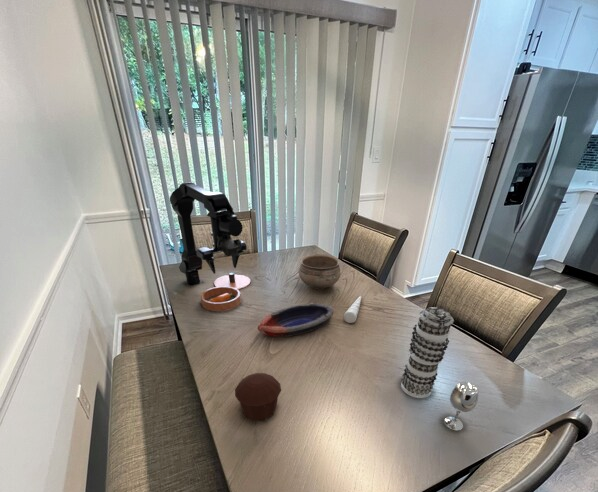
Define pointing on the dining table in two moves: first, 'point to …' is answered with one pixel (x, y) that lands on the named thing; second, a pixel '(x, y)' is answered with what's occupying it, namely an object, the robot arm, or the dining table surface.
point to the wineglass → (461, 403)
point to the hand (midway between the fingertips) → (224, 270)
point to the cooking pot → (319, 270)
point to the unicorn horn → (352, 311)
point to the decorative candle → (426, 351)
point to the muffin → (258, 395)
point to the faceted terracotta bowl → (222, 305)
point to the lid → (232, 281)
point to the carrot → (221, 298)
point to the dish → (295, 320)
